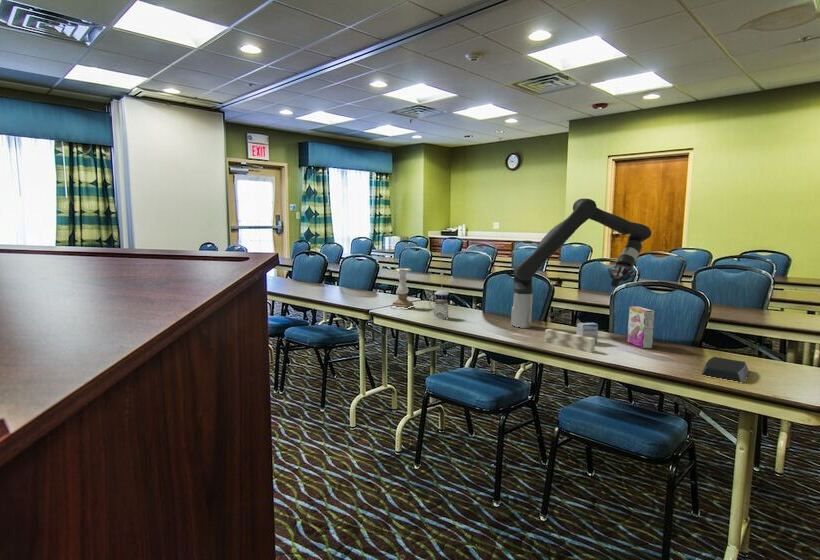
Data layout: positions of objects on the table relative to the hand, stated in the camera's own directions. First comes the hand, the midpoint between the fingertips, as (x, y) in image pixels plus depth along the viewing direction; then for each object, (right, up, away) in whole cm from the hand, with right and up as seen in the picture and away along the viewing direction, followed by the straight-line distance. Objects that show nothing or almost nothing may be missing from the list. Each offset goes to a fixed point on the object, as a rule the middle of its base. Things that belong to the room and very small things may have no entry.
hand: (613, 285), depth 222 cm
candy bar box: (+5, -26, -15) cm, 30 cm away
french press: (-80, -18, +39) cm, 90 cm away
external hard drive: (+17, -31, -53) cm, 64 cm away
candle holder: (-100, -14, +69) cm, 123 cm away
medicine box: (-17, -25, -11) cm, 32 cm away
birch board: (-28, -26, -19) cm, 42 cm away
